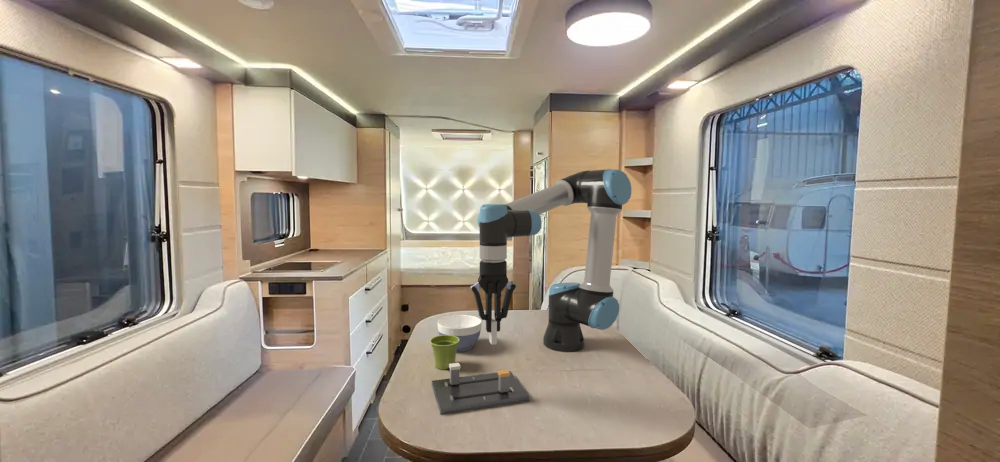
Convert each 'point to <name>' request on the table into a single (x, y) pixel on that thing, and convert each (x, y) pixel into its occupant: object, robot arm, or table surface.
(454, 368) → the fader white
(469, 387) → the console
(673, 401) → the table surface
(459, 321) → the bowl
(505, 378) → the fader orange
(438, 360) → the plant pot
